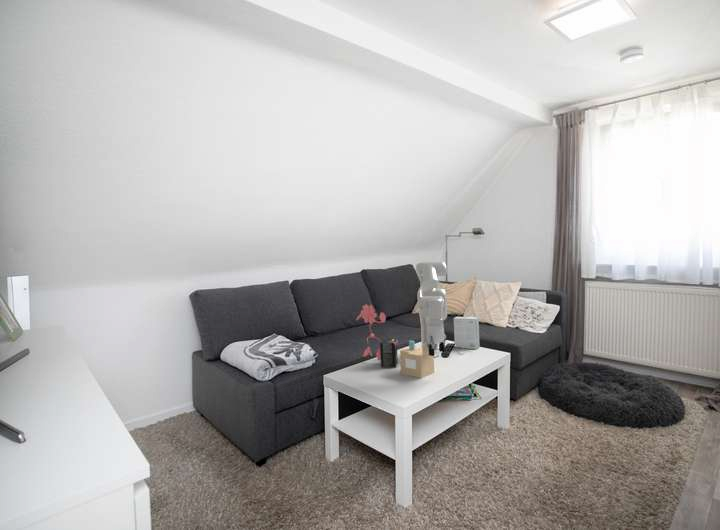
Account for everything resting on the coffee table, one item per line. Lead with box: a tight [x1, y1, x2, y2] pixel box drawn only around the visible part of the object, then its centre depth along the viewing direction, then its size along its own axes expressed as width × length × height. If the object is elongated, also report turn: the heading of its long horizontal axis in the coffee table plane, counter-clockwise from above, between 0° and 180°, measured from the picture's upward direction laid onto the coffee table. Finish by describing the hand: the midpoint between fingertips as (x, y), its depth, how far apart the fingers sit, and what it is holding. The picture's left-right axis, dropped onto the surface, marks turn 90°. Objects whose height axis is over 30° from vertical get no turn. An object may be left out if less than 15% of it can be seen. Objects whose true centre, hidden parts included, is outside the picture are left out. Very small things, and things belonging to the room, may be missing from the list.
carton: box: [399, 340, 435, 379], centre depth 228 cm, size 12×15×17 cm
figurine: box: [355, 303, 387, 364], centre depth 256 cm, size 15×26×35 cm, turn 46°
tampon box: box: [379, 338, 399, 368], centre depth 245 cm, size 11×9×15 cm
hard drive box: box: [453, 316, 481, 350], centre depth 278 cm, size 16×8×20 cm, turn 60°
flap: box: [421, 342, 439, 356], centre depth 220 cm, size 11×6×5 cm
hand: (436, 353), depth 218 cm, fingers open, 9 cm apart
